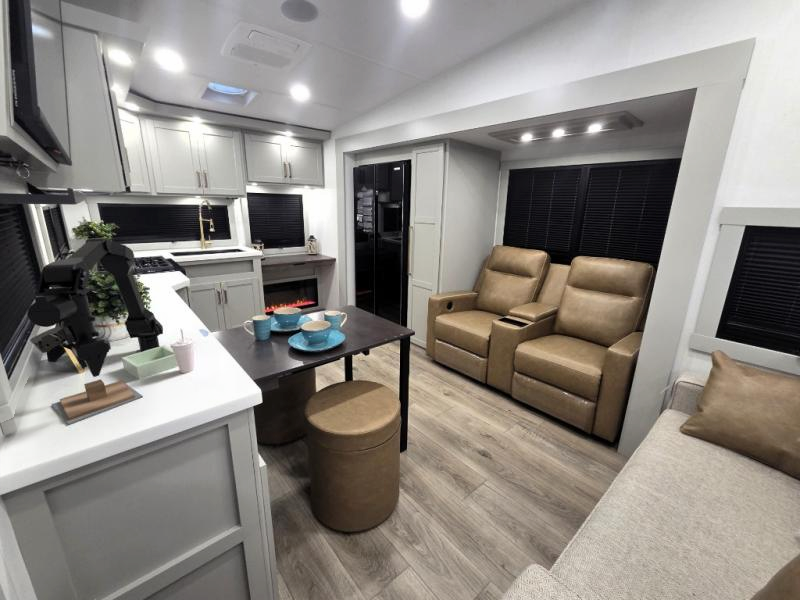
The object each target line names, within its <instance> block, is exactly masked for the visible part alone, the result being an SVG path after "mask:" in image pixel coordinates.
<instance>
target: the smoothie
mask: <svg viewBox="0 0 800 600" xmlns="http://www.w3.org/2000/svg"><path fill="white" fill-rule="evenodd" d="M180 336H181V339H177V340H174V341H173V342H171V343H170V344H169V345H170V349H172V350H173V352H174V355H175V358H176V360H177V363H178V369H179V372H180V373H181V374H188V373H191V372H193V371H194V370H195V351H194V349H195V347H194V346H195V339H193V338H185V334H184V329H183V328H180Z"/></svg>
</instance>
